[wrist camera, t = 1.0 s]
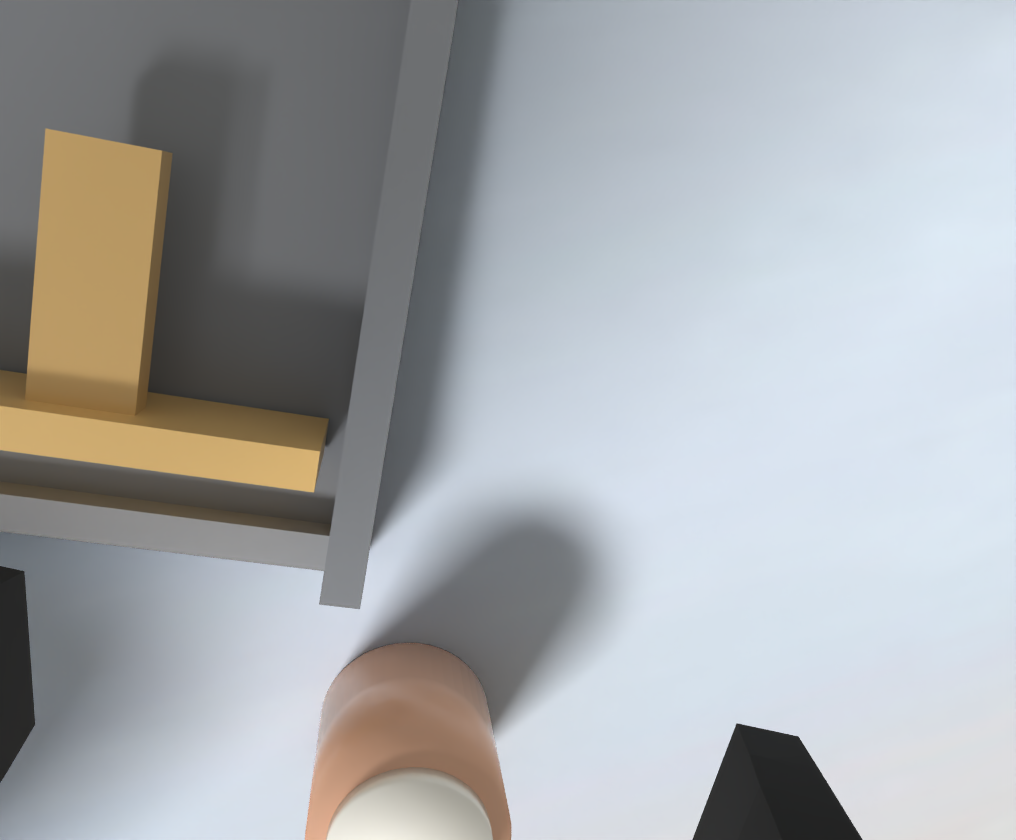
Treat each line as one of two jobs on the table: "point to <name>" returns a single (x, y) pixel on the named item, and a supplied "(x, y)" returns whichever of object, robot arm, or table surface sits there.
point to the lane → (237, 247)
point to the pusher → (125, 338)
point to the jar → (407, 752)
